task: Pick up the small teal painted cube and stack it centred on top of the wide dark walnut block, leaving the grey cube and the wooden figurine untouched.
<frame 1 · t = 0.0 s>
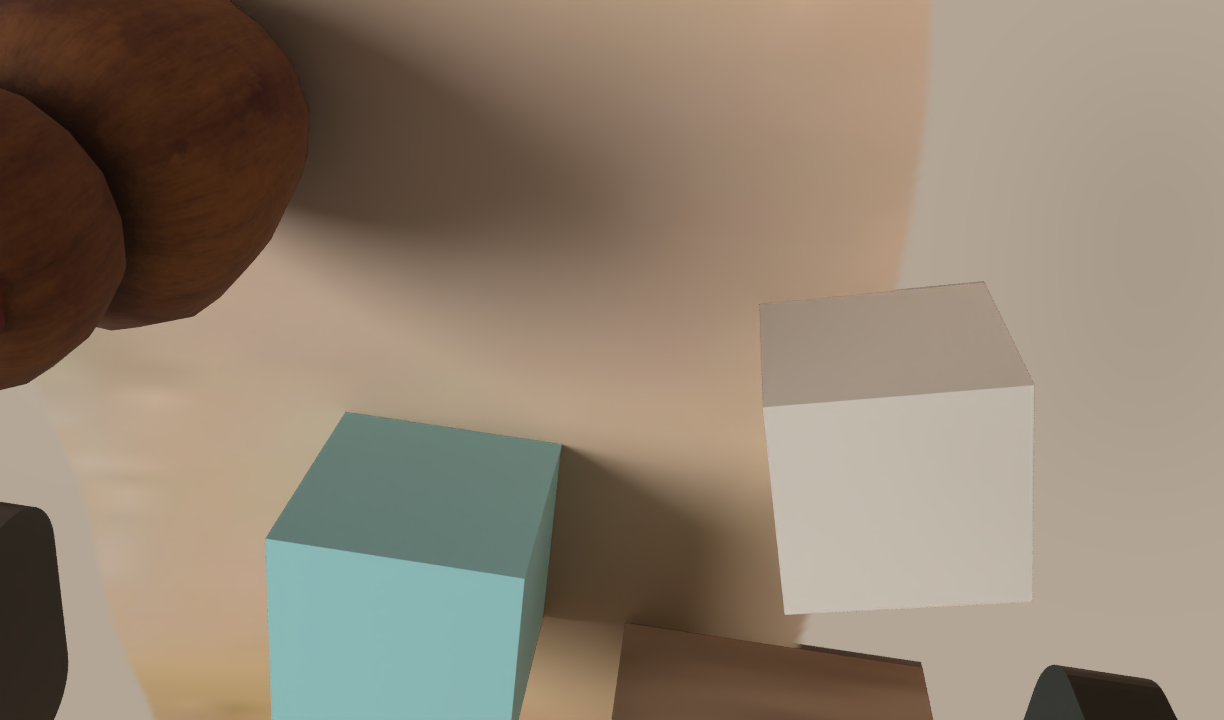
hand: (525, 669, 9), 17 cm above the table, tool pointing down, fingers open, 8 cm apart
grey cube: (875, 388, 27), on the table
teal cube: (448, 516, 30), on the table
wooden figurine: (206, 86, 25), on the table
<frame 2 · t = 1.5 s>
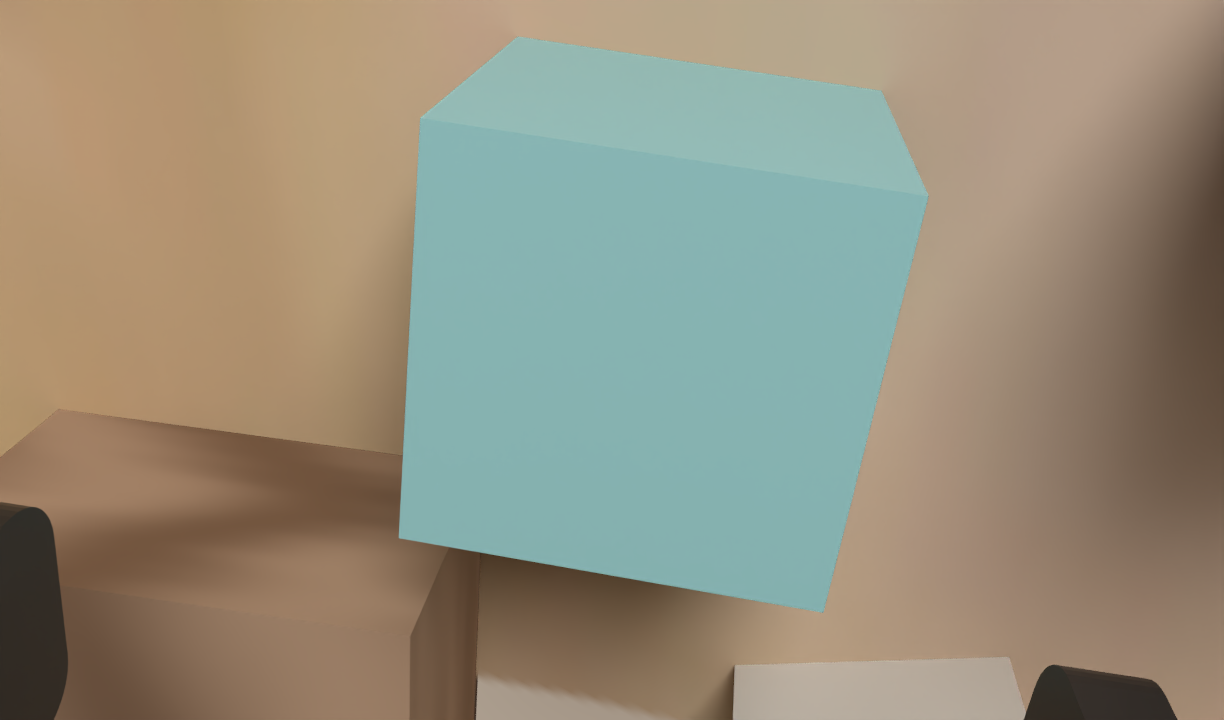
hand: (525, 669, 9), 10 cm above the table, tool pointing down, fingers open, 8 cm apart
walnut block: (281, 608, 23), on the table
teal cube: (671, 234, 18), on the table
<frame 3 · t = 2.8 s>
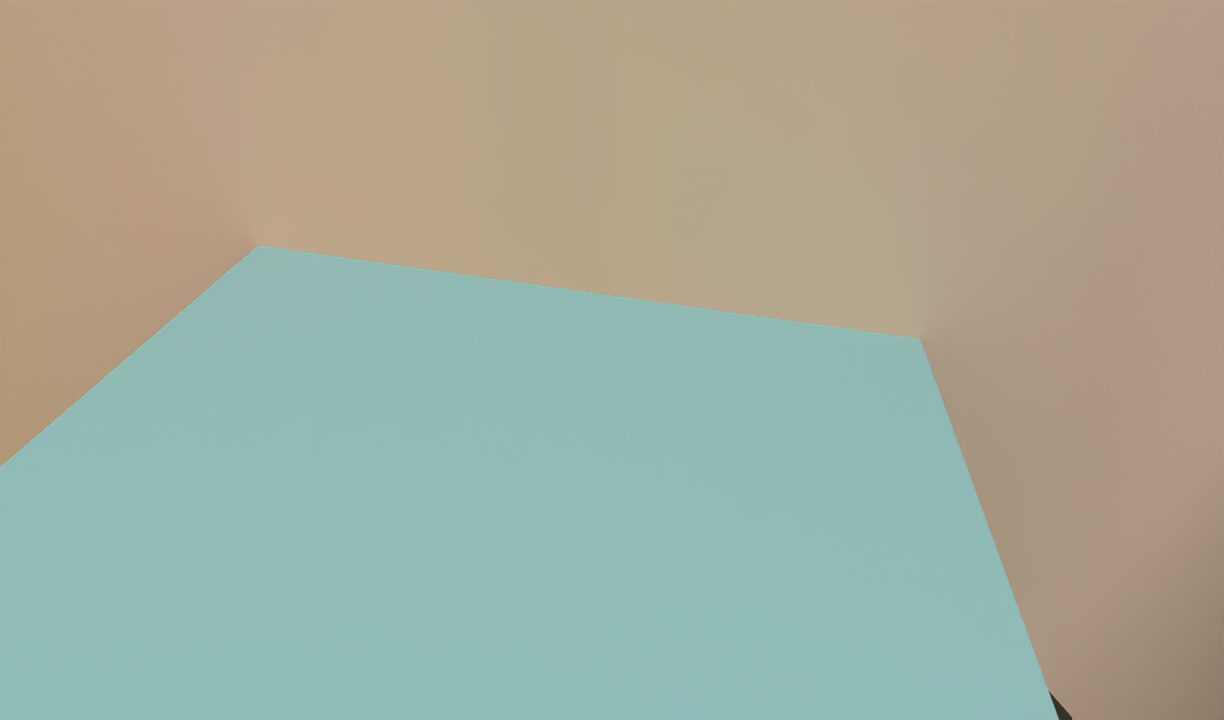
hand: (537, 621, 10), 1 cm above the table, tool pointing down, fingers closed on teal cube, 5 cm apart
teal cube: (555, 566, 11), on the table, touching gripper
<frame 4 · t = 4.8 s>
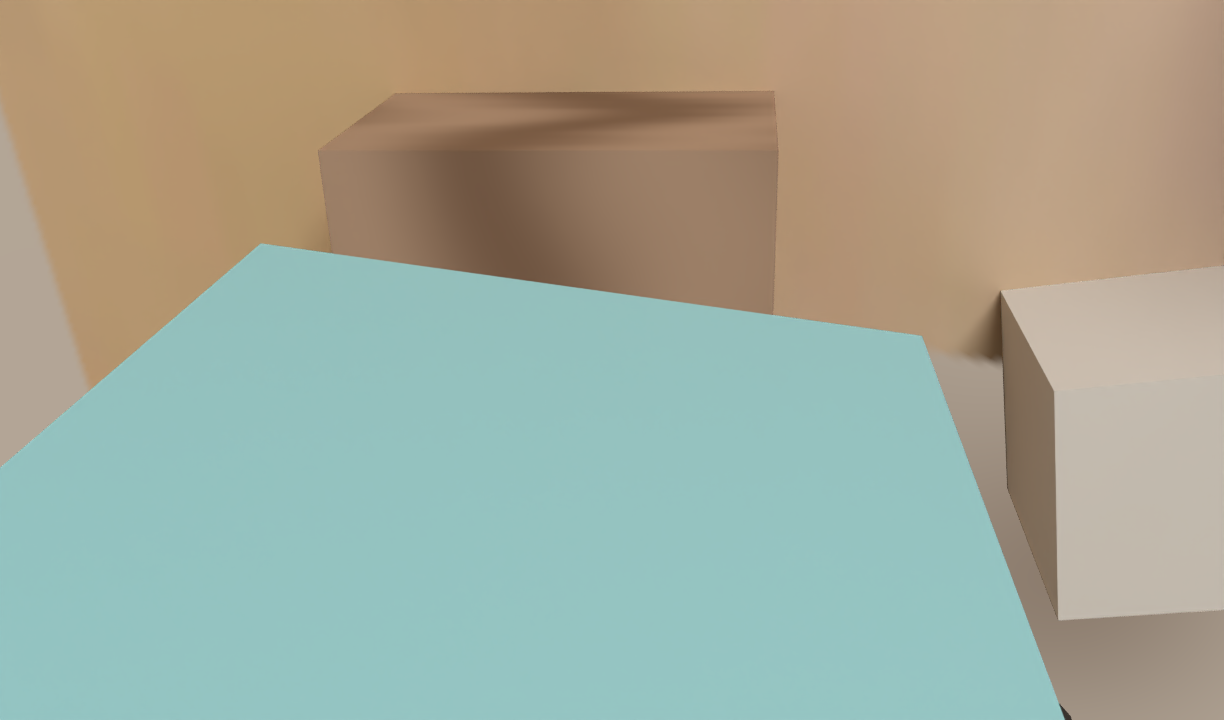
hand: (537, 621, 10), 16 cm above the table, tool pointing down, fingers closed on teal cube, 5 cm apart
grey cube: (1120, 380, 25), on the table
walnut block: (589, 268, 26), on the table
teal cube: (557, 564, 11), point 15 cm above the table, touching gripper
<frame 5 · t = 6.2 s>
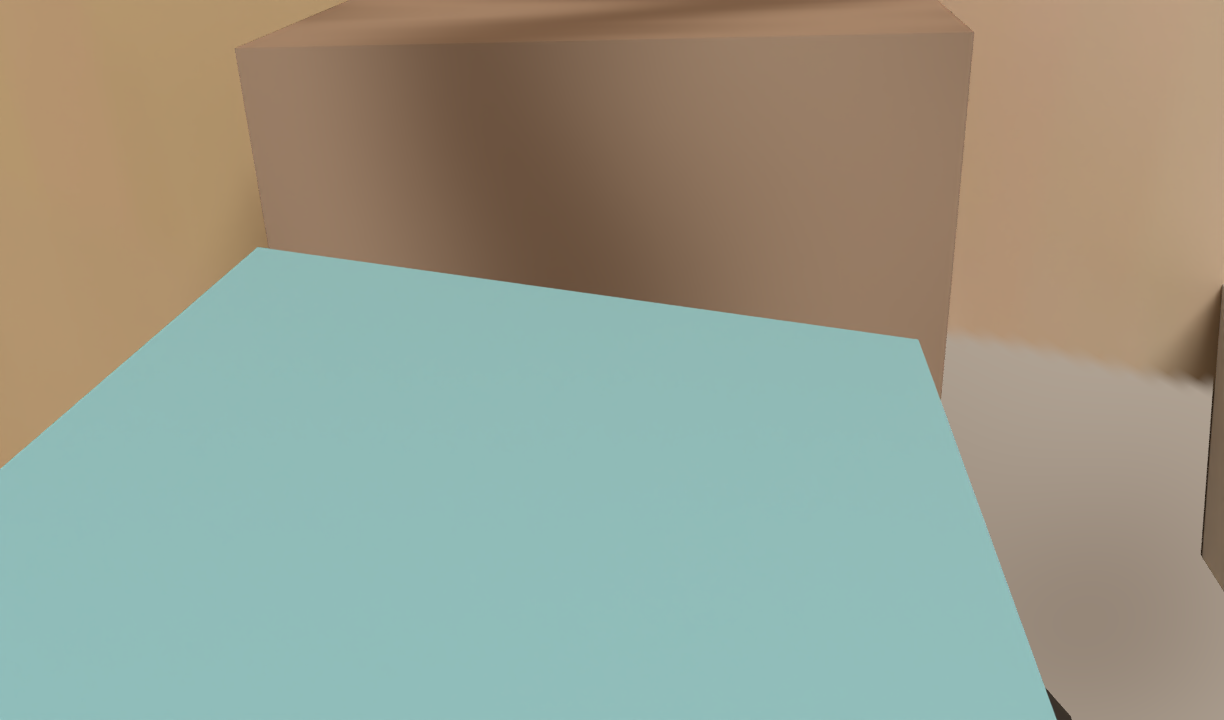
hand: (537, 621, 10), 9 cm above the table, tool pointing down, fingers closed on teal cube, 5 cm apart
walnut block: (640, 243, 18), on the table
teal cube: (554, 567, 11), point 9 cm above the table, touching gripper
when the fingers open (7 cm above the table, at t = 7.1 s): teal cube drops 1 cm, point 5 cm above the table.
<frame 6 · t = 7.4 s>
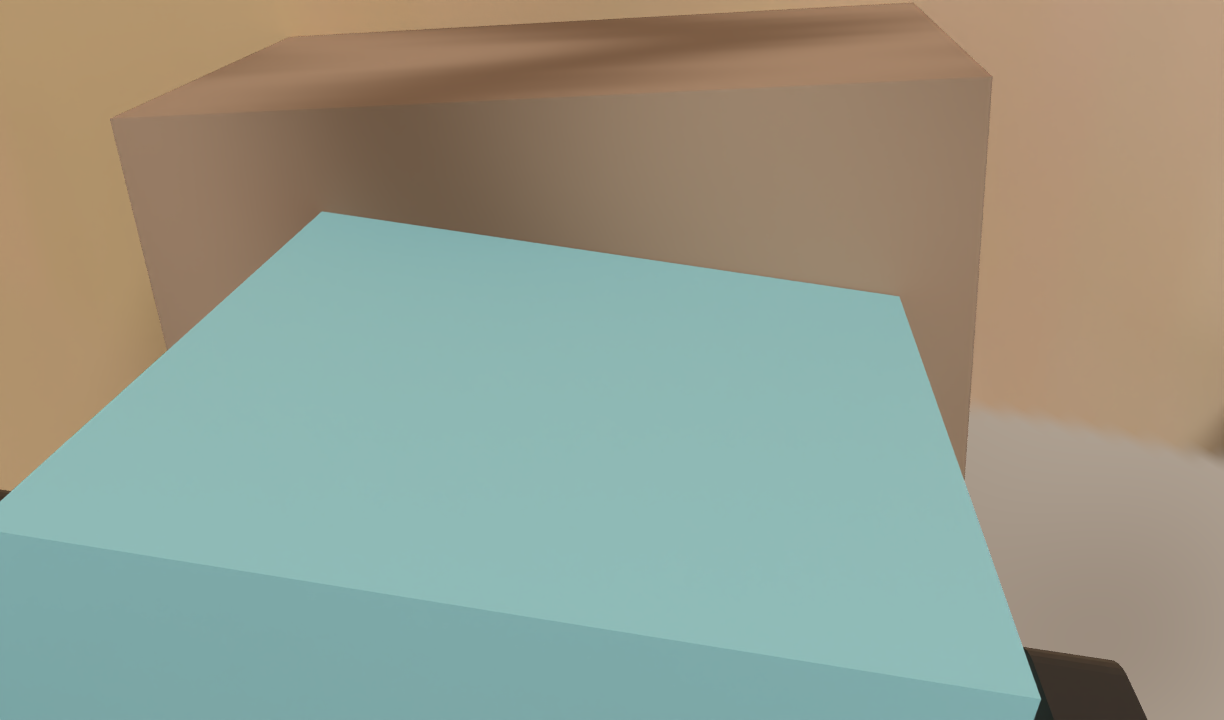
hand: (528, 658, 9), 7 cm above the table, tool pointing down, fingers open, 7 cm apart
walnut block: (613, 305, 16), on the table
teal cube: (576, 500, 12), point 5 cm above the table
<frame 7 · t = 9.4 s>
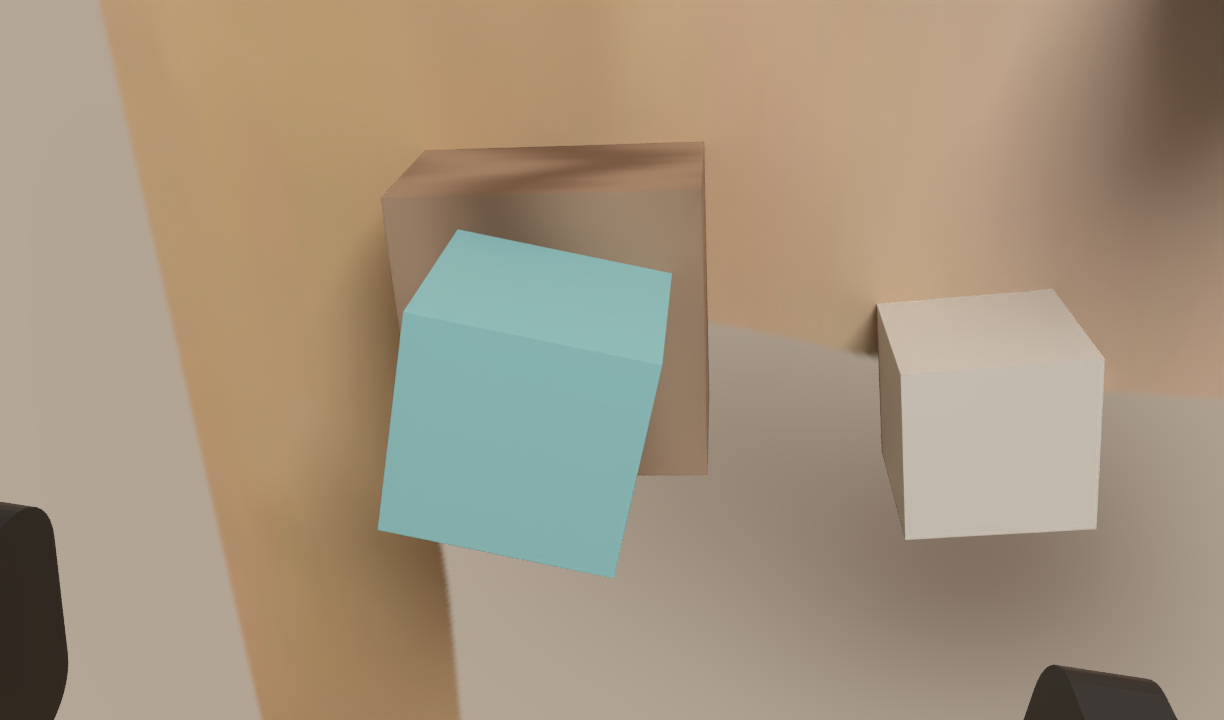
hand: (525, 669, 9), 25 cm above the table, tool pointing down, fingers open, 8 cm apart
grey cube: (963, 372, 34), on the table
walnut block: (573, 275, 34), on the table, touching teal cube
teal cube: (547, 348, 30), point 5 cm above the table, touching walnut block
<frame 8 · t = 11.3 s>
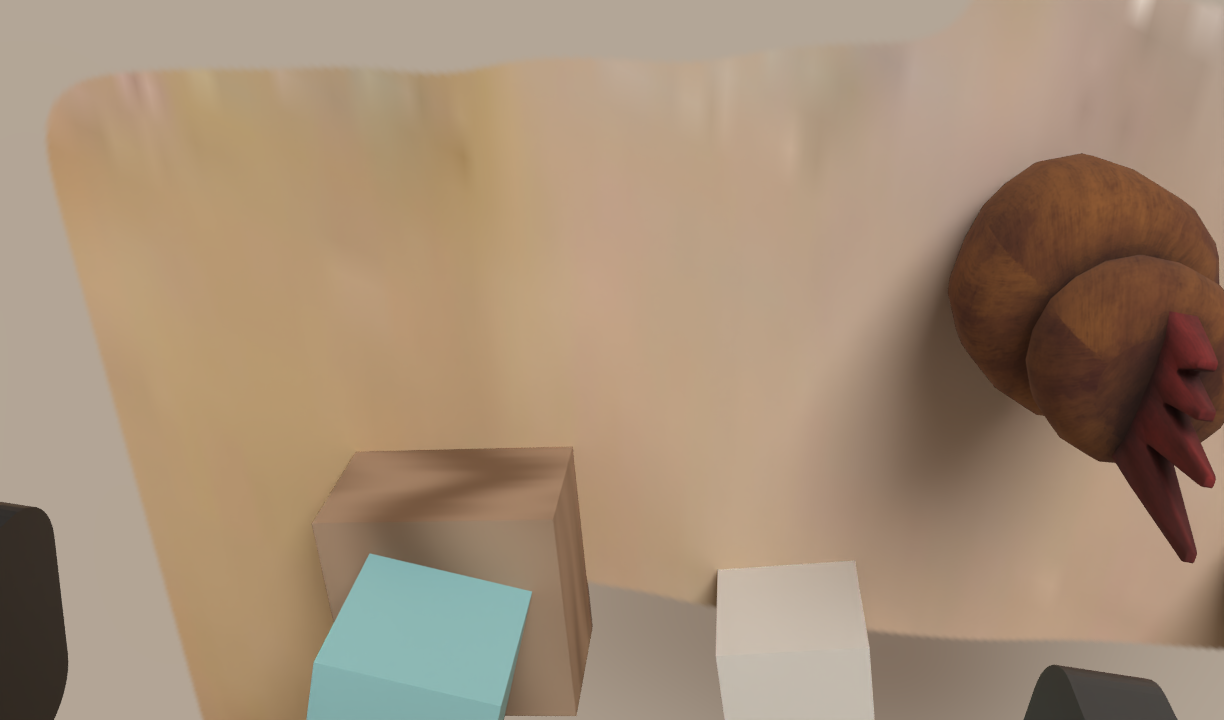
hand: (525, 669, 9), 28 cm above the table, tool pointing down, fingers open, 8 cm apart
grey cube: (791, 619, 43), on the table
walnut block: (478, 539, 43), on the table, touching teal cube
teal cube: (439, 637, 39), point 5 cm above the table, touching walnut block
wooden figurine: (1039, 234, 36), on the table
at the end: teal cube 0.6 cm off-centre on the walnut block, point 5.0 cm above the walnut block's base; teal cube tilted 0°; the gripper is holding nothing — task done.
